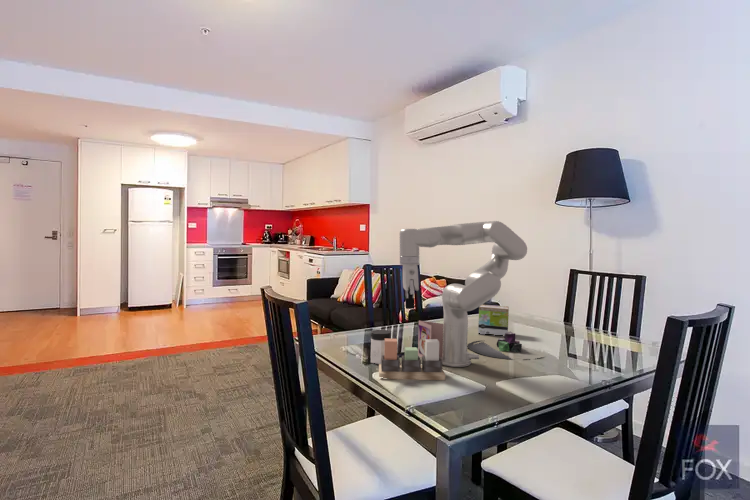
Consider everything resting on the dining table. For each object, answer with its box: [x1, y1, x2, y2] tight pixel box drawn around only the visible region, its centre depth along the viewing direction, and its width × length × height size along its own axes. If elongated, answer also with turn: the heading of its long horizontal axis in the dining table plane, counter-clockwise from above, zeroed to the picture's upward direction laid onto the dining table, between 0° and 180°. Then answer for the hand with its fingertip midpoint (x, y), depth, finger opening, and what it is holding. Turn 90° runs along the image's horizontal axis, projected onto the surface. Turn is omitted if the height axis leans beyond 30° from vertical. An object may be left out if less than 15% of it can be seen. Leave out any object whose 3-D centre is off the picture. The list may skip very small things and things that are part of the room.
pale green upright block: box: [404, 346, 418, 360], centre depth 155 cm, size 4×4×7 cm
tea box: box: [477, 304, 510, 337], centre depth 226 cm, size 15×10×15 cm
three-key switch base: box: [378, 355, 446, 381], centre depth 155 cm, size 23×11×6 cm, turn 90°
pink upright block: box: [384, 338, 398, 360], centre depth 155 cm, size 4×4×7 cm
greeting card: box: [417, 320, 444, 358], centre depth 177 cm, size 11×7×15 cm, turn 20°
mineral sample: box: [467, 331, 544, 361], centre depth 194 cm, size 35×35×9 cm
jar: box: [370, 329, 392, 365], centre depth 171 cm, size 9×8×12 cm
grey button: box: [425, 339, 439, 361], centre depth 155 cm, size 4×4×7 cm
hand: (409, 308), depth 165 cm, fingers closed
